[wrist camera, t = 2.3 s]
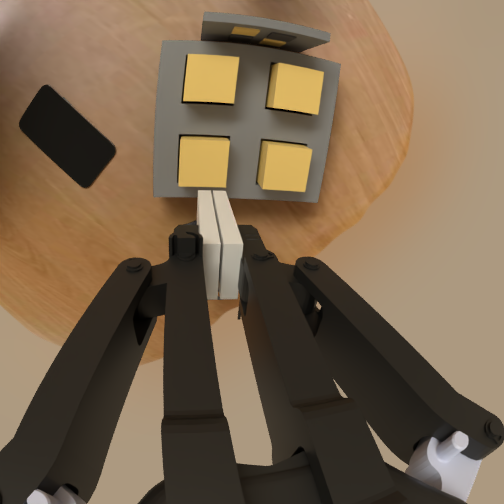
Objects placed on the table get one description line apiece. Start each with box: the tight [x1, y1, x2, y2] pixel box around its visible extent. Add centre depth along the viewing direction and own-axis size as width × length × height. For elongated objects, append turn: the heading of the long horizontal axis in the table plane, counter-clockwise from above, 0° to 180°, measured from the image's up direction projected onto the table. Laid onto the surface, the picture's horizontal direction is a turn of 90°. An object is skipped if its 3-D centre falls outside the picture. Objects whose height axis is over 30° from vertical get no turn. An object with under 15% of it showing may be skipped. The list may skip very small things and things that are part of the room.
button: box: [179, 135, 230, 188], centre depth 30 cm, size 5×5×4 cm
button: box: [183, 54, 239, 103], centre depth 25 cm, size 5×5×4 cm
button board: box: [153, 40, 341, 203], centre depth 30 cm, size 20×18×4 cm
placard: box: [201, 12, 331, 53], centre depth 23 cm, size 12×1×9 cm, turn 84°
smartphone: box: [19, 85, 116, 188], centre depth 28 cm, size 7×1×15 cm
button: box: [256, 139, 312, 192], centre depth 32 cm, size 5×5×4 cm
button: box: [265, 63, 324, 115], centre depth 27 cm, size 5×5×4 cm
